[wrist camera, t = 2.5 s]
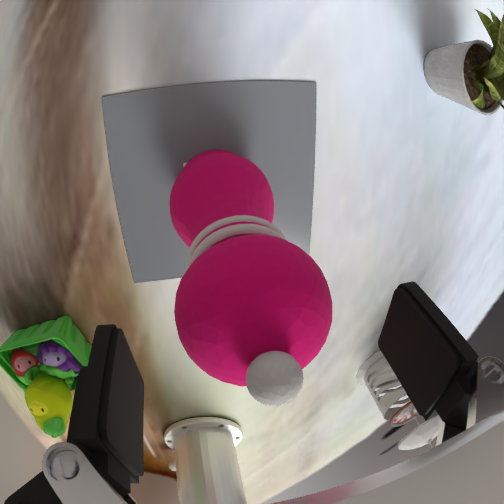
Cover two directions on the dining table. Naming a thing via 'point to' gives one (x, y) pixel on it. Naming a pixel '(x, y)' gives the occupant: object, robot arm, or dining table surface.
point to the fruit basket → (47, 369)
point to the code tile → (197, 141)
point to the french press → (395, 401)
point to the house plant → (470, 70)
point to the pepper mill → (244, 281)
